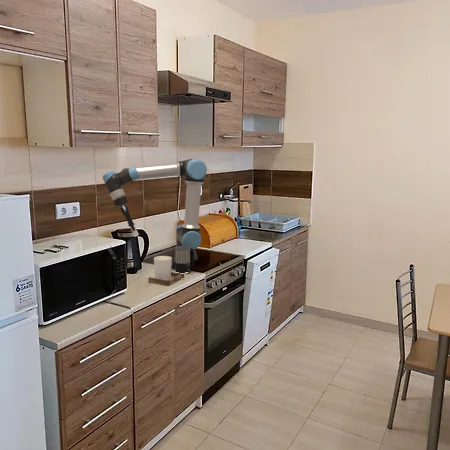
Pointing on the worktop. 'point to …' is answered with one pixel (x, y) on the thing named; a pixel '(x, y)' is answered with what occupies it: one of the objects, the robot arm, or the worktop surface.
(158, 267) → the candle holder
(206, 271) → the worktop surface
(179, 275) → the walnut bay
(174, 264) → the milk frother
